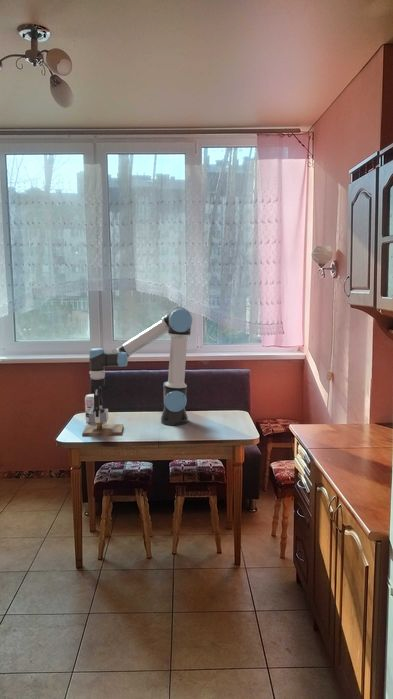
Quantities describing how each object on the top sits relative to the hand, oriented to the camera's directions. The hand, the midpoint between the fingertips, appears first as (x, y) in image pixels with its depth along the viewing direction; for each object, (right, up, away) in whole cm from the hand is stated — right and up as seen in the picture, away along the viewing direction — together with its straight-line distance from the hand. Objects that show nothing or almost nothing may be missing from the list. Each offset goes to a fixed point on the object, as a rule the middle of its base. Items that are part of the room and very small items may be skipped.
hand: (98, 419), depth 264 cm
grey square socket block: (0, 0, 0) cm, 0 cm away
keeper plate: (+2, -6, +1) cm, 7 cm away
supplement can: (-7, -4, +20) cm, 22 cm away
